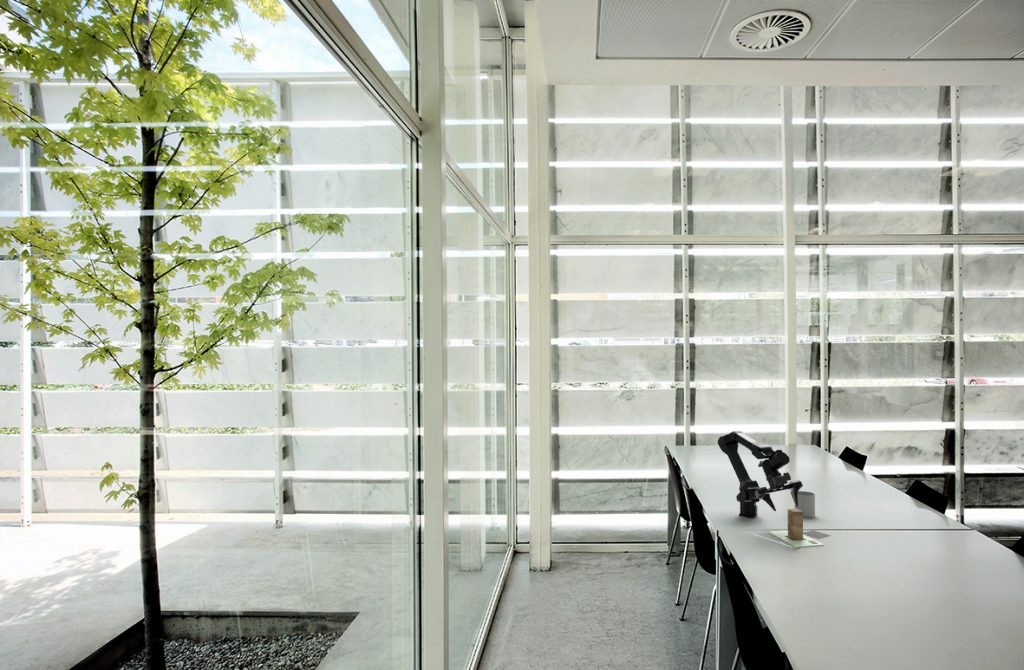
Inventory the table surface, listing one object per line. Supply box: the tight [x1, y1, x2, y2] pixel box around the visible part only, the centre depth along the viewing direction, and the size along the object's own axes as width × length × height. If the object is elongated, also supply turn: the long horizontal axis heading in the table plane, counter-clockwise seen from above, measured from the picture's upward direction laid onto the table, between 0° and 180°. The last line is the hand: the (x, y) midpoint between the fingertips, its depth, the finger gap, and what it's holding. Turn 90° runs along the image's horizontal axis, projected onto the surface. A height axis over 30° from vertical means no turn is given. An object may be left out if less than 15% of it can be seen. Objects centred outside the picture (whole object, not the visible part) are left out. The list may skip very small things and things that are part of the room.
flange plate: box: [768, 529, 825, 550], centre depth 241 cm, size 18×12×1 cm, turn 9°
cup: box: [794, 490, 816, 519], centre depth 275 cm, size 8×8×10 cm
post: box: [787, 508, 804, 541], centre depth 241 cm, size 4×4×12 cm
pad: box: [803, 529, 832, 540], centre depth 247 cm, size 8×8×1 cm
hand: (786, 508), depth 253 cm, fingers open, 9 cm apart
